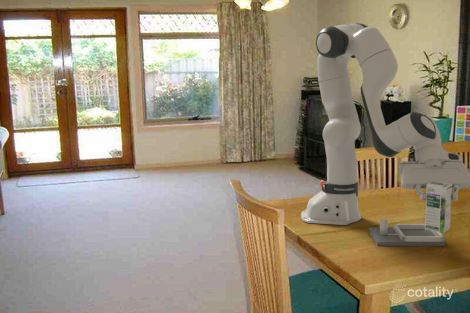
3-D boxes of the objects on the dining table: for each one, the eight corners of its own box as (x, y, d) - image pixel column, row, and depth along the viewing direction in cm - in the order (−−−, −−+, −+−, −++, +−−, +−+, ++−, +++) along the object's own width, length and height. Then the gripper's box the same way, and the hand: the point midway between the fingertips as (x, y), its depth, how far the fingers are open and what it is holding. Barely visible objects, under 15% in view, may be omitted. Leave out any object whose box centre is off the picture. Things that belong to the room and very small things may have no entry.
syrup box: (423, 229, 143) (425, 183, 140) (431, 224, 147) (433, 180, 144) (442, 234, 139) (445, 186, 136) (450, 228, 143) (452, 182, 140)
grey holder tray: (377, 245, 150) (377, 227, 149) (368, 230, 164) (369, 213, 163) (444, 245, 148) (445, 227, 147) (430, 230, 162) (431, 213, 161)
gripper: (399, 156, 147) (405, 194, 139) (467, 155, 145) (477, 194, 137) (395, 167, 152) (401, 204, 144) (460, 166, 150) (470, 204, 142)
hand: (439, 199), depth 141 cm, fingers closed on syrup box, 8 cm apart
